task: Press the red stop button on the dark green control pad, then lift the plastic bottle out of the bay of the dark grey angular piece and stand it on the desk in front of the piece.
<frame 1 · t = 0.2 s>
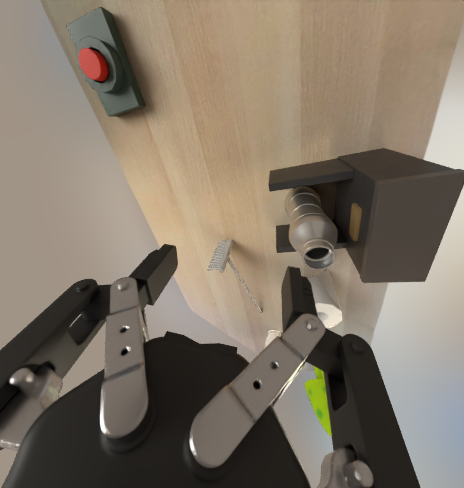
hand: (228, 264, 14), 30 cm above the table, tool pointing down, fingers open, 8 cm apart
control pad: (114, 70, 33), on the table
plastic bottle: (300, 199, 40), on the table
cup: (279, 333, 66), on the table
brush: (244, 277, 55), on the table
stop button: (94, 65, 30), point 4 cm above the table, slide at 0.1 cm
dark grey angular piece: (300, 199, 40), on the table
mushroom: (312, 328, 61), on the table
toilet tissue: (316, 285, 51), on the table
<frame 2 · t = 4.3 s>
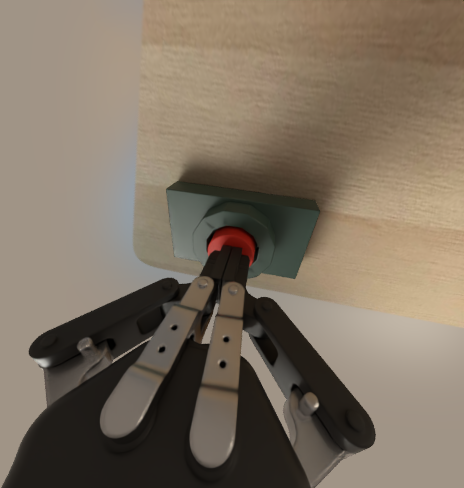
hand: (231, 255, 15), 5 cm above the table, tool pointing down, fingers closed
control pad: (239, 225, 18), on the table
stop button: (232, 248, 15), point 4 cm above the table, slide at -0.5 cm, touching gripper
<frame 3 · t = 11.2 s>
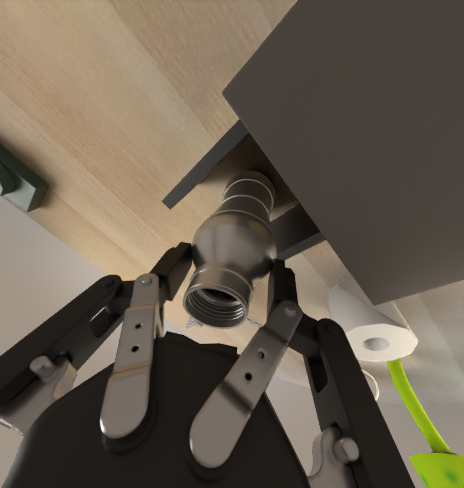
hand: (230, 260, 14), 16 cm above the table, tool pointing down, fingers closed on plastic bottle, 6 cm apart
control pad: (9, 169, 32), on the table
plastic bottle: (251, 190, 27), on the table, touching gripper
dark grey angular piece: (251, 191, 27), on the table
mushroom: (390, 348, 40), on the table
toilet tissue: (354, 290, 33), on the table
when the fingers open (16 cm above the table, at t = 19.0 s): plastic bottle stays where it is, on the table.
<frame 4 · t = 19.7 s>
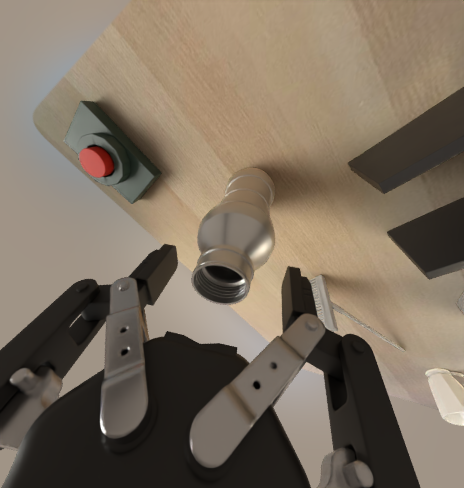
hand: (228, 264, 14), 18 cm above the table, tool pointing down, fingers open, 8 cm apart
control pad: (119, 156, 29), on the table
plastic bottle: (252, 186, 28), on the table
cup: (445, 371, 43), on the table
brush: (357, 313, 38), on the table
stop button: (97, 162, 26), point 4 cm above the table, slide at 0.1 cm
dark grey angular piece: (418, 177, 24), on the table
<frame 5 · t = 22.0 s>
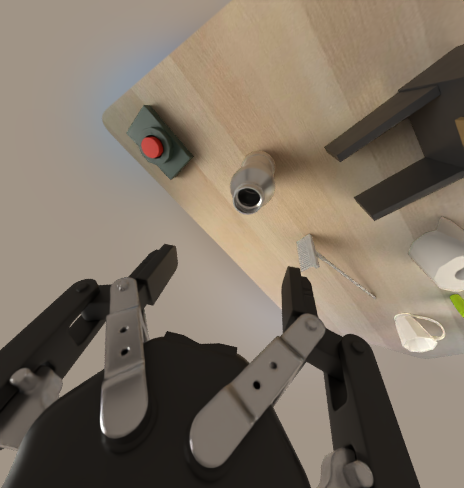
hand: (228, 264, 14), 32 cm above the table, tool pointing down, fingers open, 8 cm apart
control pad: (163, 144, 41), on the table
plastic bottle: (258, 165, 40), on the table
cup: (408, 316, 55), on the table
brush: (338, 266, 50), on the table
stop button: (152, 147, 37), point 4 cm above the table, slide at 0.1 cm
dark grey angular piece: (371, 156, 35), on the table
mushroom: (454, 296, 48), on the table
toilet tissue: (434, 241, 42), on the table
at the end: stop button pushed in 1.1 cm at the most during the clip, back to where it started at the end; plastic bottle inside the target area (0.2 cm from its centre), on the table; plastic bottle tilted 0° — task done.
